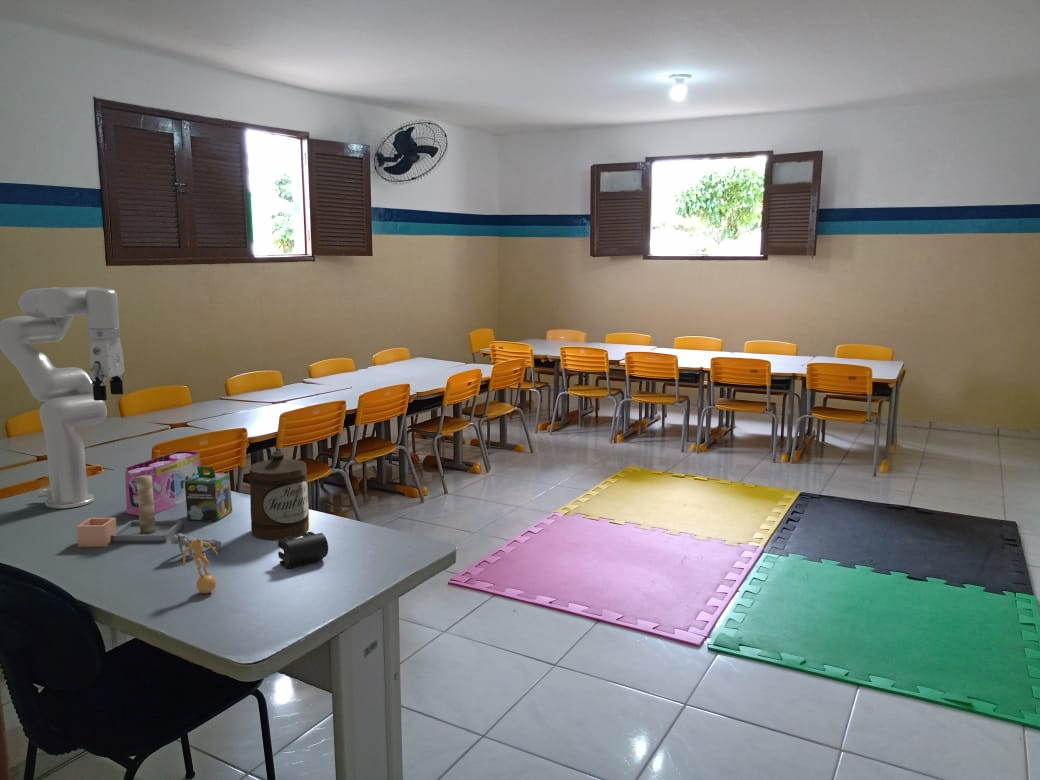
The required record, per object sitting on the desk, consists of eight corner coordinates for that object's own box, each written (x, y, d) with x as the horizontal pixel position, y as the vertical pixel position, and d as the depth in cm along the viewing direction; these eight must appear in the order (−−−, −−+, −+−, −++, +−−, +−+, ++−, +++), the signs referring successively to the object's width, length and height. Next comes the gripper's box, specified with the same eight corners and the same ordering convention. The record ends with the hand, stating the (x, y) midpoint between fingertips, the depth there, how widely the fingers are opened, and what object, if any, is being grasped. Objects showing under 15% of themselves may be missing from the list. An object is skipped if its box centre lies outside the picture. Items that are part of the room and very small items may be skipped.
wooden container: (273, 544, 199) (270, 461, 195) (240, 532, 208) (236, 452, 204) (320, 529, 211) (318, 450, 207) (286, 518, 219) (284, 442, 216)
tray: (110, 542, 199) (109, 535, 199) (130, 526, 211) (130, 520, 210) (166, 542, 200) (165, 535, 199) (183, 526, 212) (183, 520, 211)
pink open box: (78, 547, 195) (76, 526, 194) (91, 538, 202) (89, 517, 201) (105, 547, 196) (103, 526, 195) (117, 538, 202) (115, 517, 201)
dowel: (137, 534, 203) (134, 478, 201) (143, 529, 207) (140, 475, 204) (152, 534, 203) (148, 478, 201) (157, 529, 207) (154, 475, 205)
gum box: (145, 518, 218) (142, 471, 216) (122, 515, 220) (119, 469, 218) (203, 494, 241) (200, 452, 238) (181, 492, 243) (179, 450, 241)
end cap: (290, 573, 181) (289, 545, 180) (276, 564, 186) (275, 537, 185) (329, 562, 188) (328, 535, 187) (315, 554, 193) (314, 528, 192)
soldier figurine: (206, 556, 197) (161, 551, 188) (212, 535, 198) (167, 529, 189) (218, 562, 193) (172, 558, 184) (225, 541, 194) (179, 536, 185)
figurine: (195, 601, 165) (192, 547, 163) (178, 594, 168) (175, 541, 167) (228, 588, 172) (226, 536, 170) (211, 582, 175) (209, 531, 173)
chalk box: (232, 511, 225) (230, 462, 222) (217, 522, 216) (214, 470, 213) (202, 510, 226) (199, 460, 223) (185, 520, 217) (182, 469, 214)
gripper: (103, 337, 202) (108, 402, 204) (132, 332, 219) (136, 392, 221) (73, 337, 201) (78, 402, 204) (105, 331, 218) (109, 392, 221)
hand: (108, 397), depth 213 cm, fingers open, 9 cm apart
